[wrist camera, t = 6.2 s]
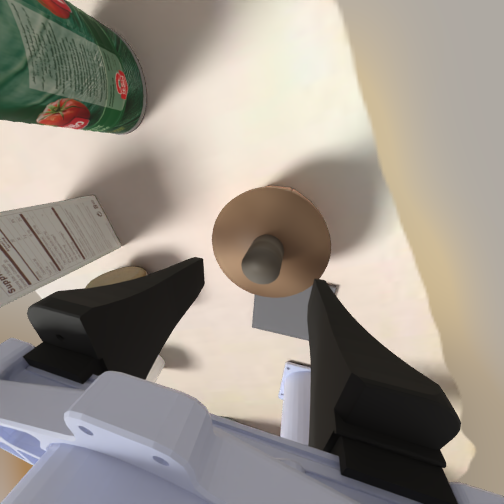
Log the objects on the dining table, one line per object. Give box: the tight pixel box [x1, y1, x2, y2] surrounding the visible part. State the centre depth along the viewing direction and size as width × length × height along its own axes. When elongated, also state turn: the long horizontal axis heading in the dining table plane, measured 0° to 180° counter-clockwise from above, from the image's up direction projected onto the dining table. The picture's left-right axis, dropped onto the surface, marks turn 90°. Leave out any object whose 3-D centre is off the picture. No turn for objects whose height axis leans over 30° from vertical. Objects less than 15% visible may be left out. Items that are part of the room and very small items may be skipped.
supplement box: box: [0, 195, 121, 307], centre depth 21 cm, size 7×7×13 cm
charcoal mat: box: [252, 285, 336, 341], centre depth 24 cm, size 9×9×1 cm
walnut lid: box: [212, 187, 331, 298], centre depth 15 cm, size 10×10×4 cm
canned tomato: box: [0, 0, 147, 135], centre depth 13 cm, size 8×8×11 cm
